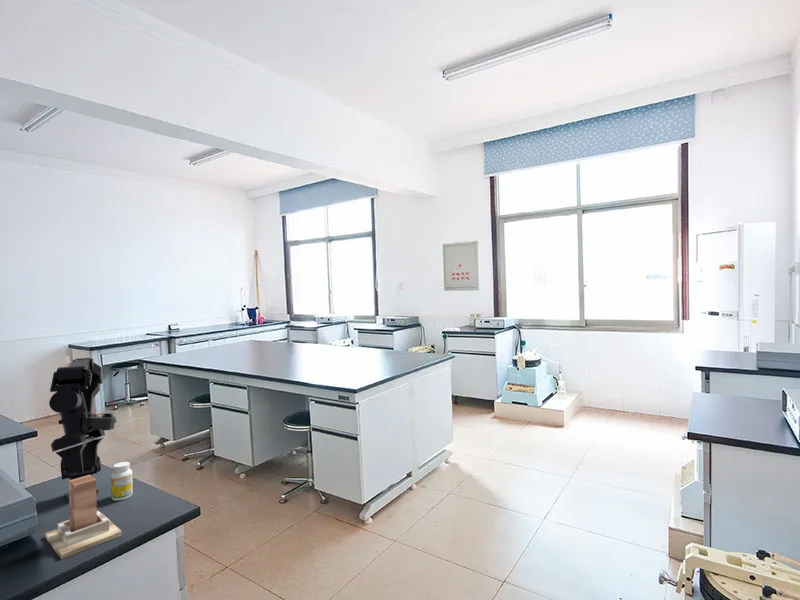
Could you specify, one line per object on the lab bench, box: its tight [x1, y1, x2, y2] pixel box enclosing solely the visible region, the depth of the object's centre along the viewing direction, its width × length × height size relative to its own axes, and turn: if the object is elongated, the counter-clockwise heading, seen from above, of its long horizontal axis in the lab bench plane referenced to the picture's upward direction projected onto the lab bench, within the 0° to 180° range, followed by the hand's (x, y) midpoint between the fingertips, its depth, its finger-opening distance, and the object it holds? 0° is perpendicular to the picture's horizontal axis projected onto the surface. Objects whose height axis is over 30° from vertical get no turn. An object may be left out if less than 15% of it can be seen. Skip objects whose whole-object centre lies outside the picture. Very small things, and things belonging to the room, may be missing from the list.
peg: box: [68, 475, 98, 532], centre depth 105 cm, size 4×4×13 cm
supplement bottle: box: [110, 461, 134, 502], centre depth 125 cm, size 5×5×10 cm
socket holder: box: [44, 509, 123, 560], centre depth 105 cm, size 14×12×4 cm
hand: (87, 470), depth 113 cm, fingers open, 9 cm apart
